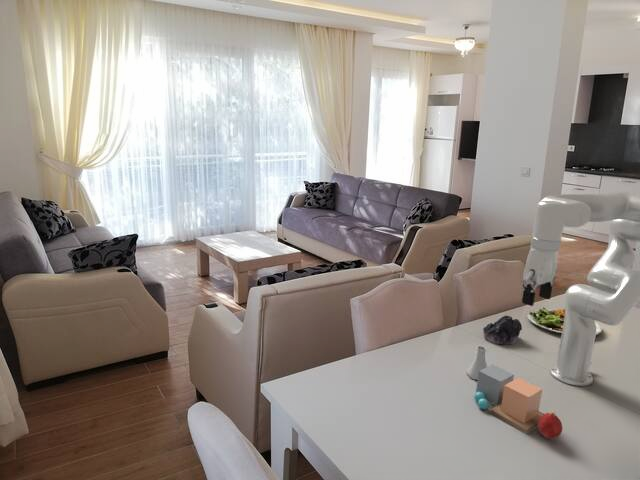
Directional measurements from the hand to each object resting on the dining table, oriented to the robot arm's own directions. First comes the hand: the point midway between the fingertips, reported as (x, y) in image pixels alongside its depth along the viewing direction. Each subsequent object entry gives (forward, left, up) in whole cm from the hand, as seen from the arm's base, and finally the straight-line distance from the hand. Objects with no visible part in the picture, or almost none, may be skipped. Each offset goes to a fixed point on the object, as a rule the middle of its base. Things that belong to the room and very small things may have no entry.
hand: (536, 301), depth 139 cm
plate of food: (-64, -18, -31) cm, 74 cm away
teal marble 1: (+15, -5, -27) cm, 31 cm away
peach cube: (+12, +6, -29) cm, 32 cm away
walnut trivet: (+12, +6, -30) cm, 33 cm away
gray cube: (+9, -4, -30) cm, 32 cm away
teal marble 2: (+17, -2, -27) cm, 32 cm away
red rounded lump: (+15, +16, -31) cm, 37 cm away
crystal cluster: (-30, -26, -31) cm, 50 cm away
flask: (+2, -14, -31) cm, 34 cm away
